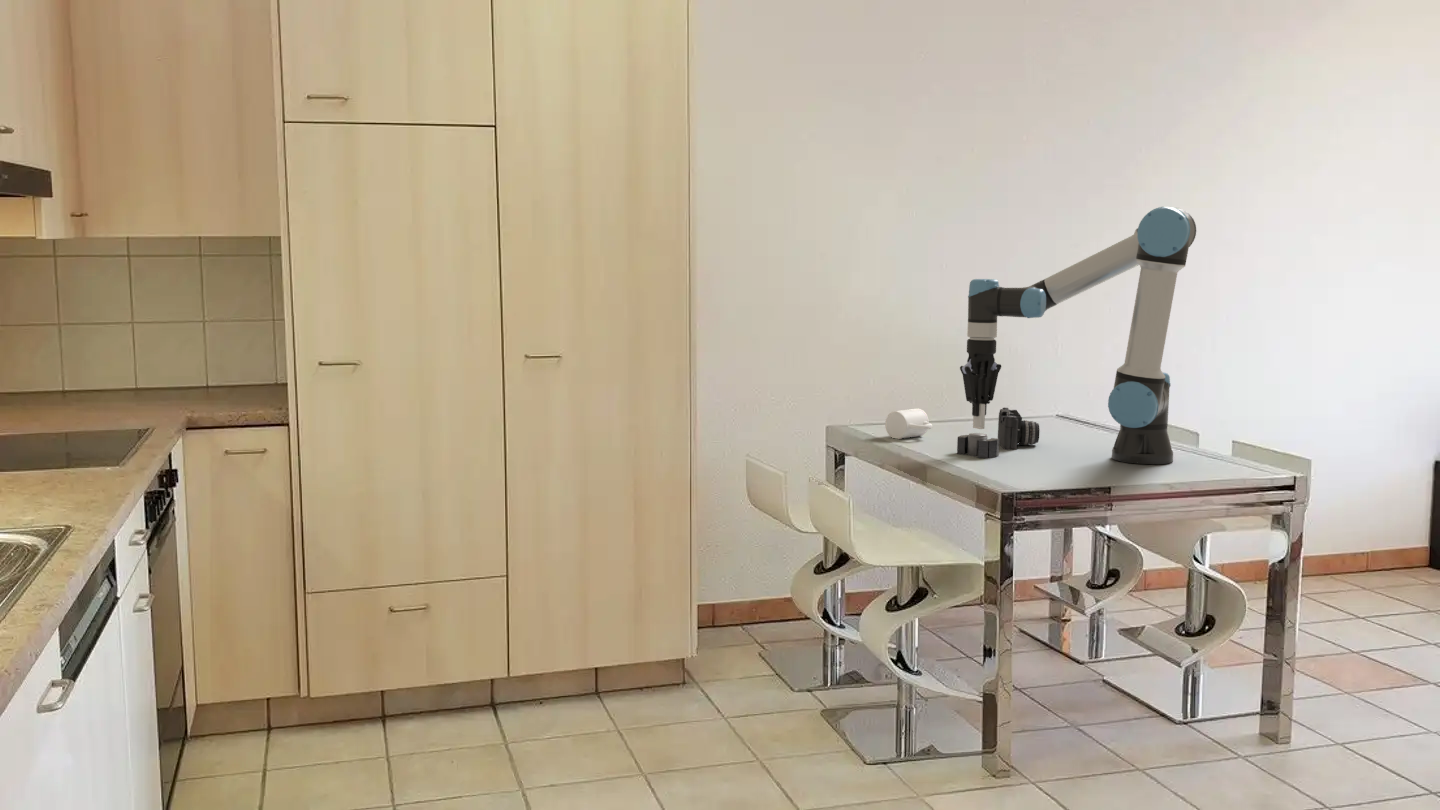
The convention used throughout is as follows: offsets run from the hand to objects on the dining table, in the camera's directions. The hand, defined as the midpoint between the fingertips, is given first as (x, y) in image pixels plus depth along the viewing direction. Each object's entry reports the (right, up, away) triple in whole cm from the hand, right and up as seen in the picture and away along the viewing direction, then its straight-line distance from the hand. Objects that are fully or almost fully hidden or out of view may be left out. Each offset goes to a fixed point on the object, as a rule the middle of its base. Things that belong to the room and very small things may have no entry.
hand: (978, 428), depth 348 cm
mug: (-13, -4, +28) cm, 31 cm away
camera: (+14, -5, +16) cm, 22 cm away
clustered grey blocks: (0, -7, +1) cm, 7 cm away
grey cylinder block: (0, -7, +1) cm, 7 cm away
